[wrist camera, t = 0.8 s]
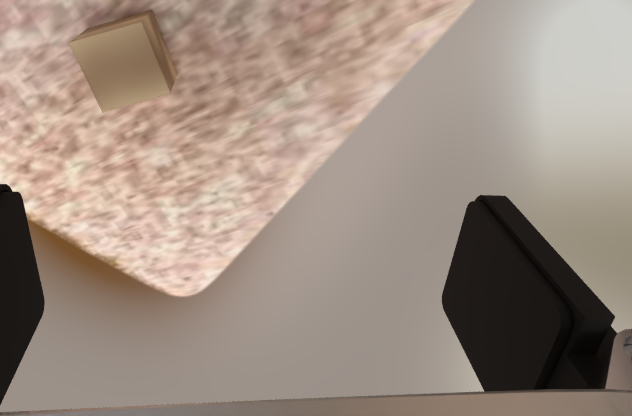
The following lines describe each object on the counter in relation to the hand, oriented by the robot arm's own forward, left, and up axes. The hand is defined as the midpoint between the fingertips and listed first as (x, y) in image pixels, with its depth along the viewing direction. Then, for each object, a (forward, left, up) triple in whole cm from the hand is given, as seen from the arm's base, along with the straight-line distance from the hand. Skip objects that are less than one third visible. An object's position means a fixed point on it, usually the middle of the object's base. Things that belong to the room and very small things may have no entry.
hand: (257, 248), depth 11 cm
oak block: (+2, -7, -24) cm, 25 cm away
